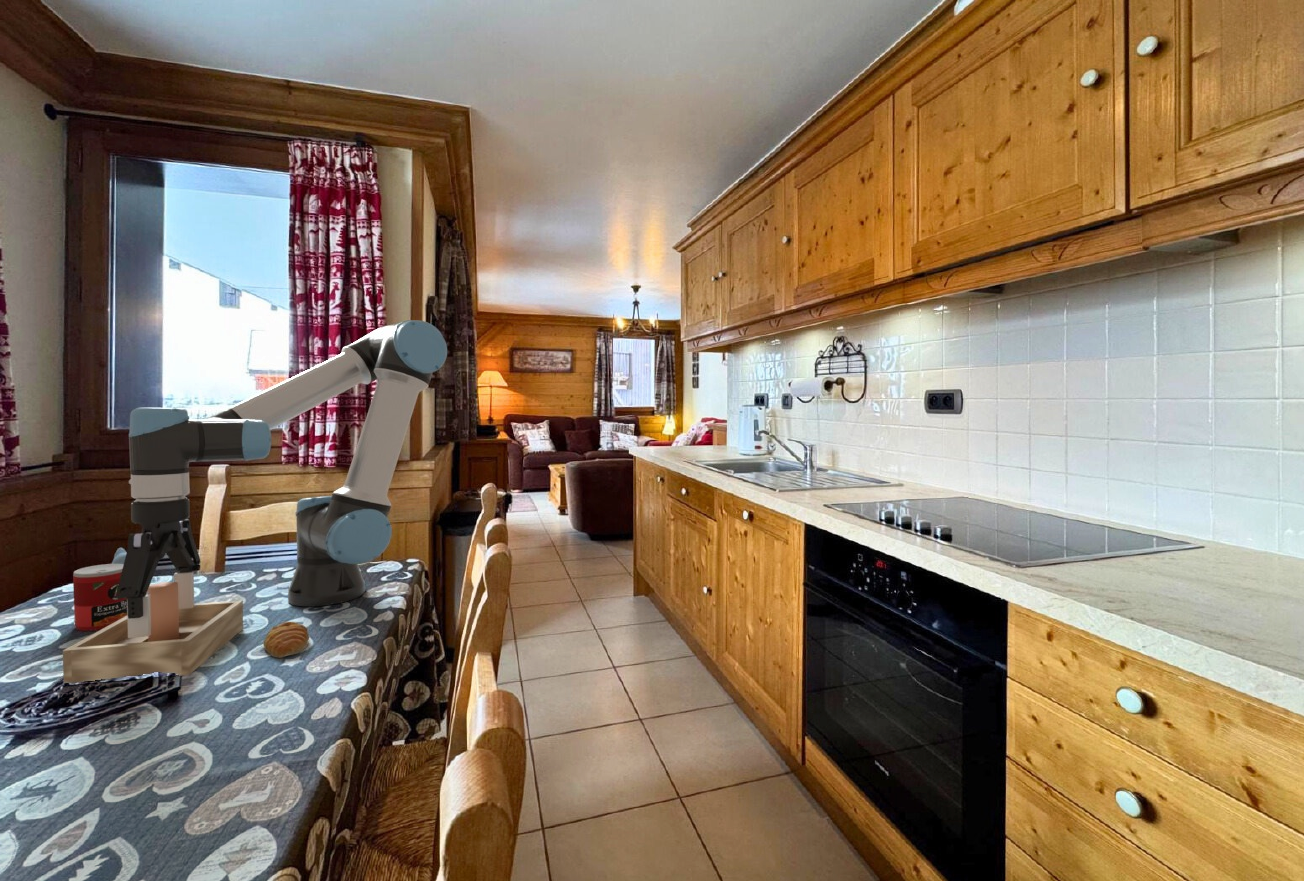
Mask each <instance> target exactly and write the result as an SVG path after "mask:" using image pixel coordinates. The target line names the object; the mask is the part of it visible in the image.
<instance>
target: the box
mask: <svg viewBox="0 0 1304 881" xmlns="http://www.w3.org/2000/svg"><path fill="white" fill-rule="evenodd" d="M243 603H244V601H243V600H234V601H233V600H231V601H217V602H204V603H203V602H202V603H194V607H193V608H187V609H179V639H178V640H165V641H152V642H148V636H146V637H133V638H128V621H127V616H125V617H123V618H122V619H120V620H118V621H116V622H114V623H112V624H111V625H109V626H107V627H105V628H103V629H101V630H97V631H96V632H94V633H92V634H90V635H89V636H87V637H85V638H84V639H82V640H81V639H80V640H79V641H78V642H76V643H75V644H73V645H71V646H69V647H67V648H65V649H63V650H62V670H63V672H62V673H63V674H62V675H63V684H64V683H74V682H75V683H76V682H84V681H95V680H101V679H111V678H118V677H119V678H120V677H126V676H138V675H143V674H150V673H154V672H162V673H176V674H178V675H179V676H178V677H180V676H183V677H184V676H189V675H191V674H192V673H193V672H195V671H196V670H197V669H198V668H199V667H200V666H201V665H203V664H204V663H205V662H206V661H207V660H208V659H210V658H211V657H212V656H214V654H215V653H217V652H218V651H219V650H221V649H222V647H224V646H225V645H226V644H227V643H229V642H230V641H231V640H232V639H233V638H235V637H236V636H237V635H238V634H239V633H240V632H241V631H242V630H244V612H243V611H244V610H243V609H244V606H243V605H244V604H243Z"/></svg>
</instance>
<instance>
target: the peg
mask: <svg viewBox="0 0 1304 881" xmlns="http://www.w3.org/2000/svg"><path fill="white" fill-rule="evenodd" d="M146 595H150V606H151V635H150V636H148V642H152V641H165V640H178V639H179V603H178V583H177V582H174V581H166V582H158V583H154V584H150V586H149V588H148V591H147V593H146Z"/></svg>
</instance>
